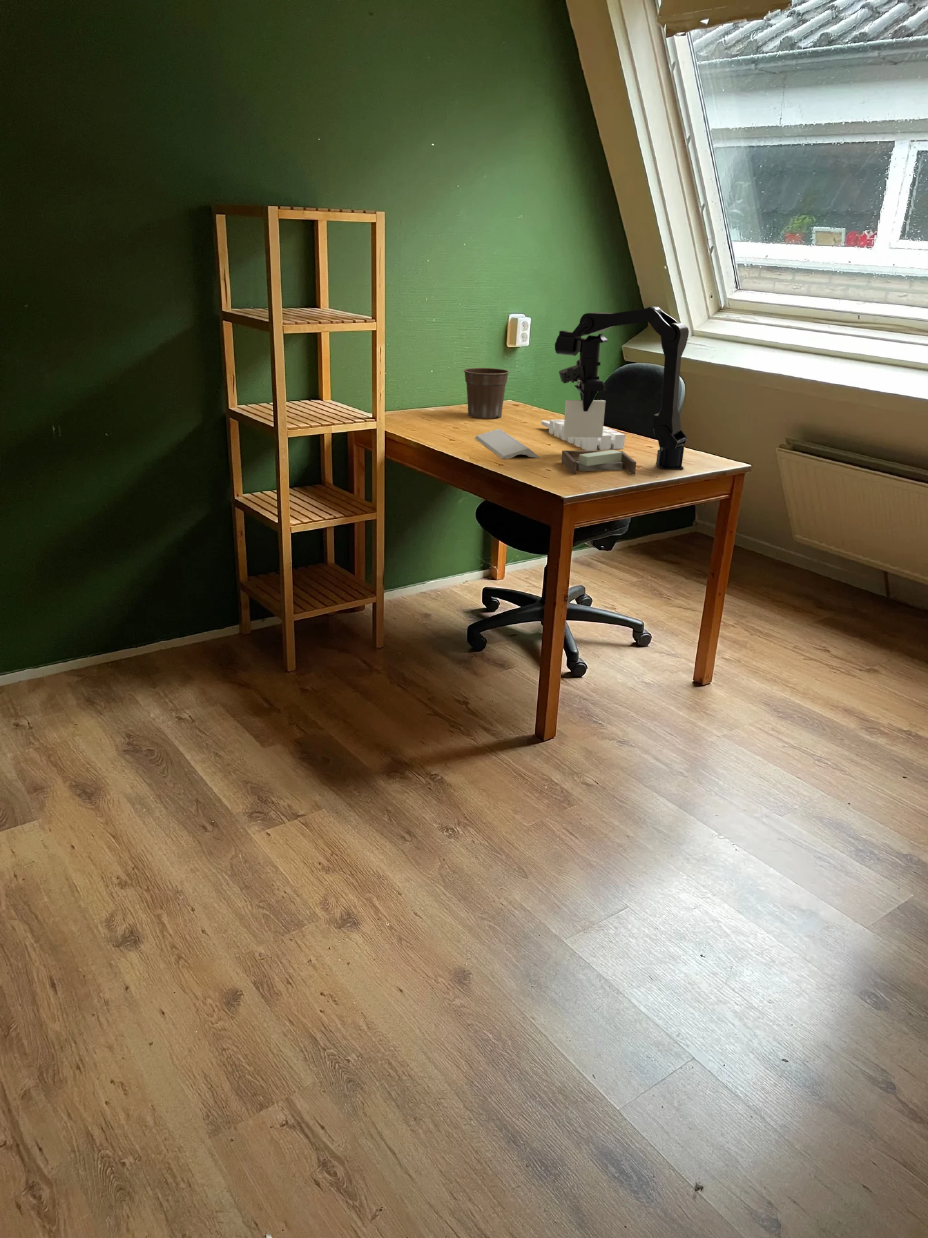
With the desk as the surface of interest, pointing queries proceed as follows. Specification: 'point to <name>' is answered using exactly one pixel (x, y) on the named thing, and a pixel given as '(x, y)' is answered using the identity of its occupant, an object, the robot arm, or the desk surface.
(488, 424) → the desk surface
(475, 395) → the plant pot
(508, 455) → the crown molding
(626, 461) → the tray
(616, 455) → the offcut upper
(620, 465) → the offcut lower
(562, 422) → the organizer
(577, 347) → the robot arm
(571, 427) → the sheet
